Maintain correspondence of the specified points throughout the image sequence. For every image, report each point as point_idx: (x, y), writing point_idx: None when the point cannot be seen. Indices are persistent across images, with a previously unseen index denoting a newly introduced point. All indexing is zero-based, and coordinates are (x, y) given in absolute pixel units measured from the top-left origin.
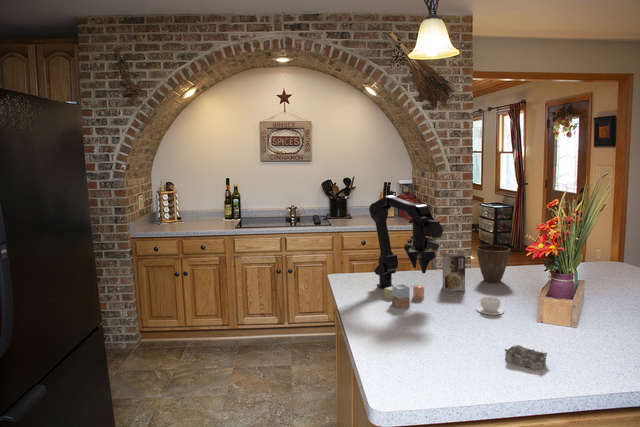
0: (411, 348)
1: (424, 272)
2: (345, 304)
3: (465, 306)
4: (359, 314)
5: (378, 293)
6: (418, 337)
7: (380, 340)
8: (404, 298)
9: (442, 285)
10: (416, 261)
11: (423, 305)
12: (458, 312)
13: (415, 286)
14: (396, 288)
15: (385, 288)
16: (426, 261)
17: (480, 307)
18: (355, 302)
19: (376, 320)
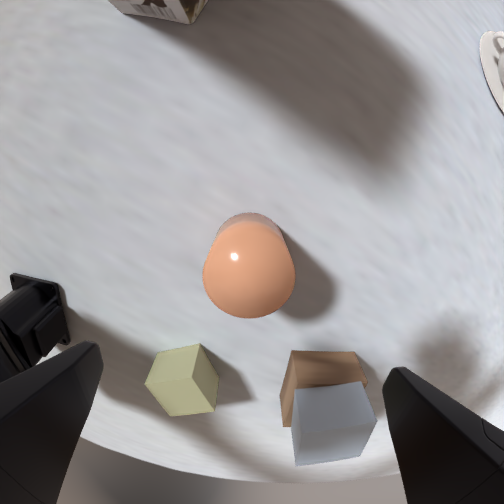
0: (499, 402)
1: (405, 380)
2: (222, 472)
3: (463, 108)
4: (317, 467)
5: (125, 379)
6: (494, 386)
7: None
8: None
9: (118, 9)
10: (42, 395)
11: (374, 289)
12: (495, 195)
13: (239, 301)
14: (337, 458)
15: (174, 414)
16: (501, 481)
17: (489, 76)
18: (213, 458)
19: (379, 447)
